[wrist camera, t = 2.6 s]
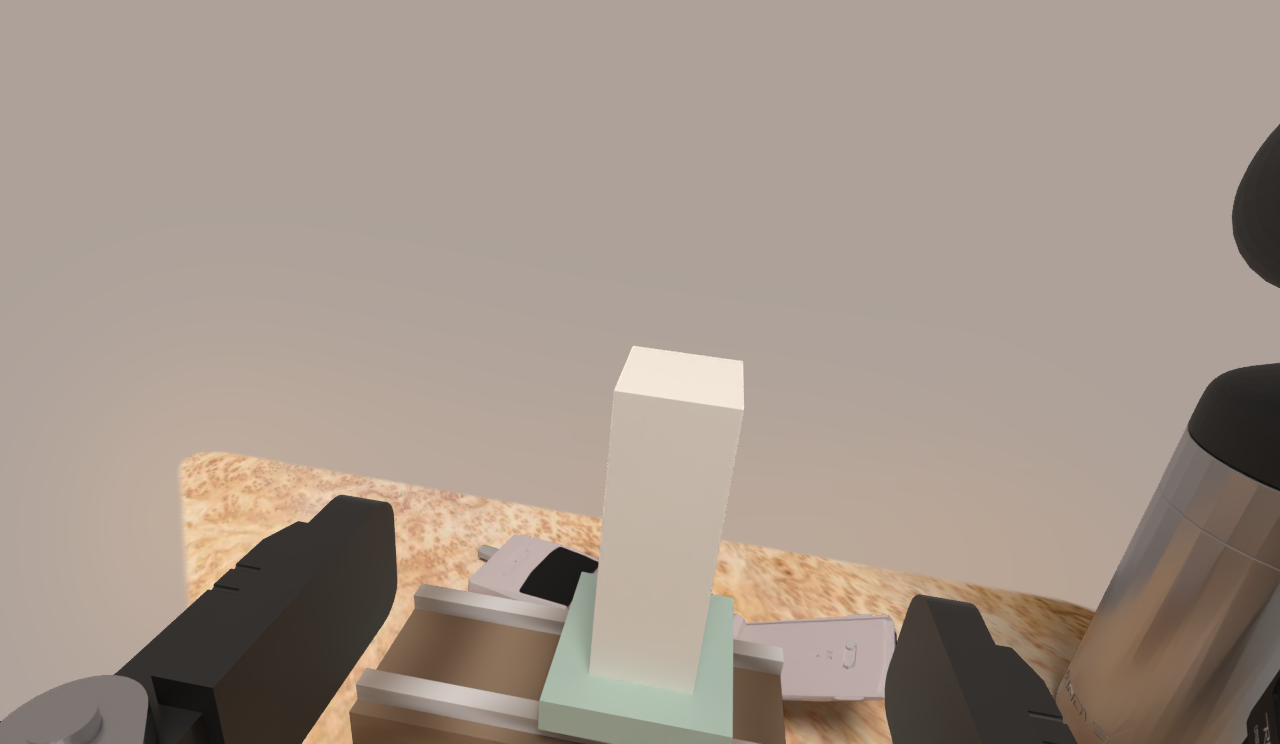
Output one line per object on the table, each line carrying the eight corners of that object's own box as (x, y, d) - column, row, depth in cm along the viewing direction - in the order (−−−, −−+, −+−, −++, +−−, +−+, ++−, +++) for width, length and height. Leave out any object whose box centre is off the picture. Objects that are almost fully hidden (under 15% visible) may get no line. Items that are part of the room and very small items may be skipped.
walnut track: (757, 739, 32) (782, 637, 30) (761, 896, 26) (794, 785, 23) (431, 677, 34) (427, 575, 31) (360, 811, 27) (347, 697, 25)
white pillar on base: (728, 623, 30) (782, 352, 24) (726, 766, 23) (798, 441, 18) (580, 597, 30) (600, 327, 25) (537, 729, 24) (553, 404, 19)
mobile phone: (895, 705, 28) (430, 525, 36) (863, 795, 31) (431, 607, 38) (900, 616, 34) (492, 475, 41) (872, 698, 36) (491, 550, 44)
